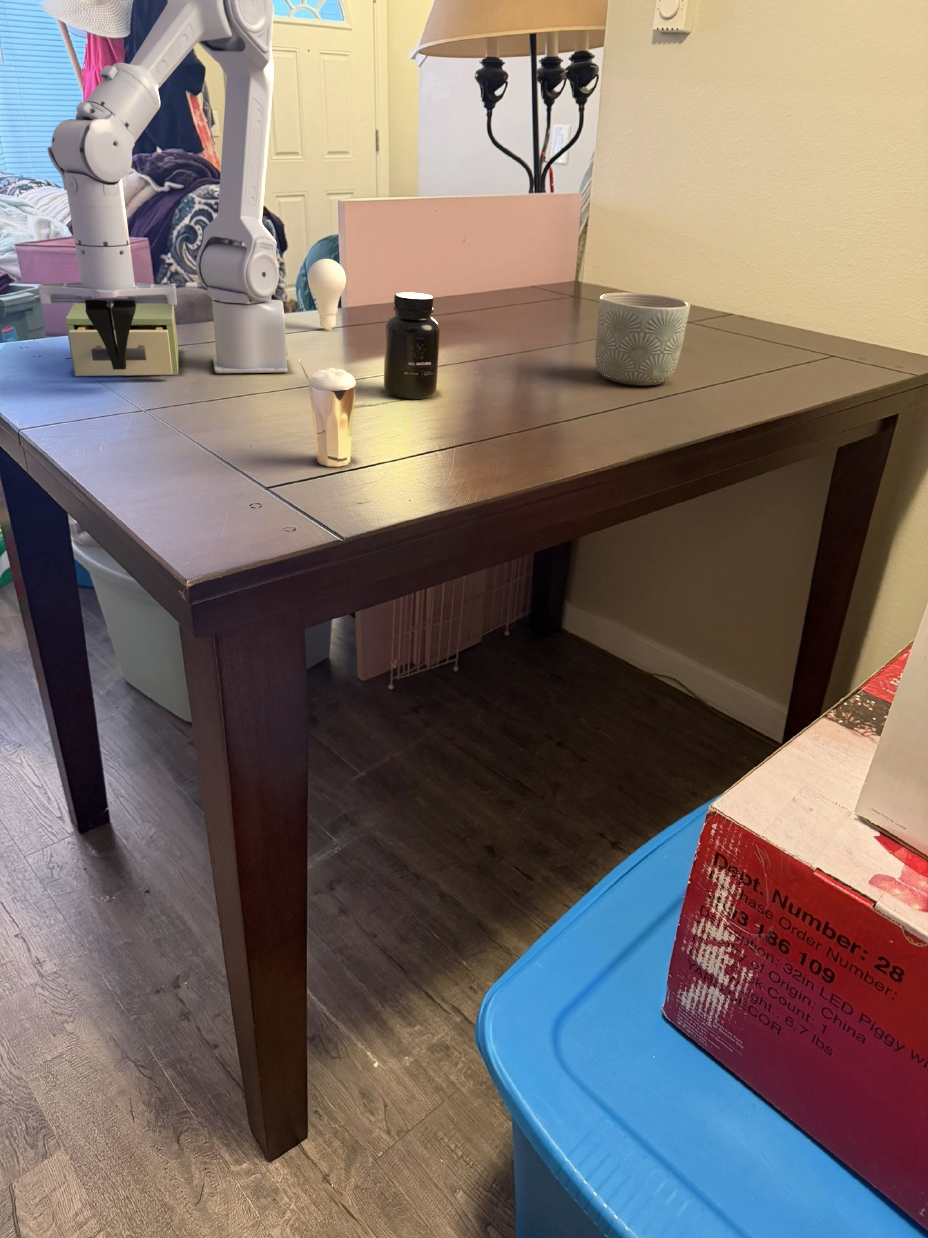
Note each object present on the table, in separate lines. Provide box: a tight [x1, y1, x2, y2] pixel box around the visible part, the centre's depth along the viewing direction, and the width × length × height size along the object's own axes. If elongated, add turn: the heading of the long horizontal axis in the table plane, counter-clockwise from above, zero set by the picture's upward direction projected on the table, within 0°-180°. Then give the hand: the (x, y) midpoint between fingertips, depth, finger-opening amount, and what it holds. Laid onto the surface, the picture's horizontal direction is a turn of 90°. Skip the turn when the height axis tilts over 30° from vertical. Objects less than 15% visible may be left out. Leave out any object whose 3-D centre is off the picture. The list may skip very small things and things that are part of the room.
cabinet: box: [64, 303, 179, 377], centre depth 116 cm, size 14×13×7 cm
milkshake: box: [298, 359, 357, 468], centre depth 85 cm, size 4×5×10 cm
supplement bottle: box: [383, 292, 441, 400], centre depth 109 cm, size 7×7×12 cm
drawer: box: [69, 325, 173, 377], centre depth 111 cm, size 17×11×5 cm
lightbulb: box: [307, 258, 347, 331], centre depth 142 cm, size 6×6×11 cm
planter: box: [595, 292, 691, 387], centre depth 123 cm, size 12×12×11 cm
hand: (119, 367), depth 103 cm, fingers closed, pressing on drawer
